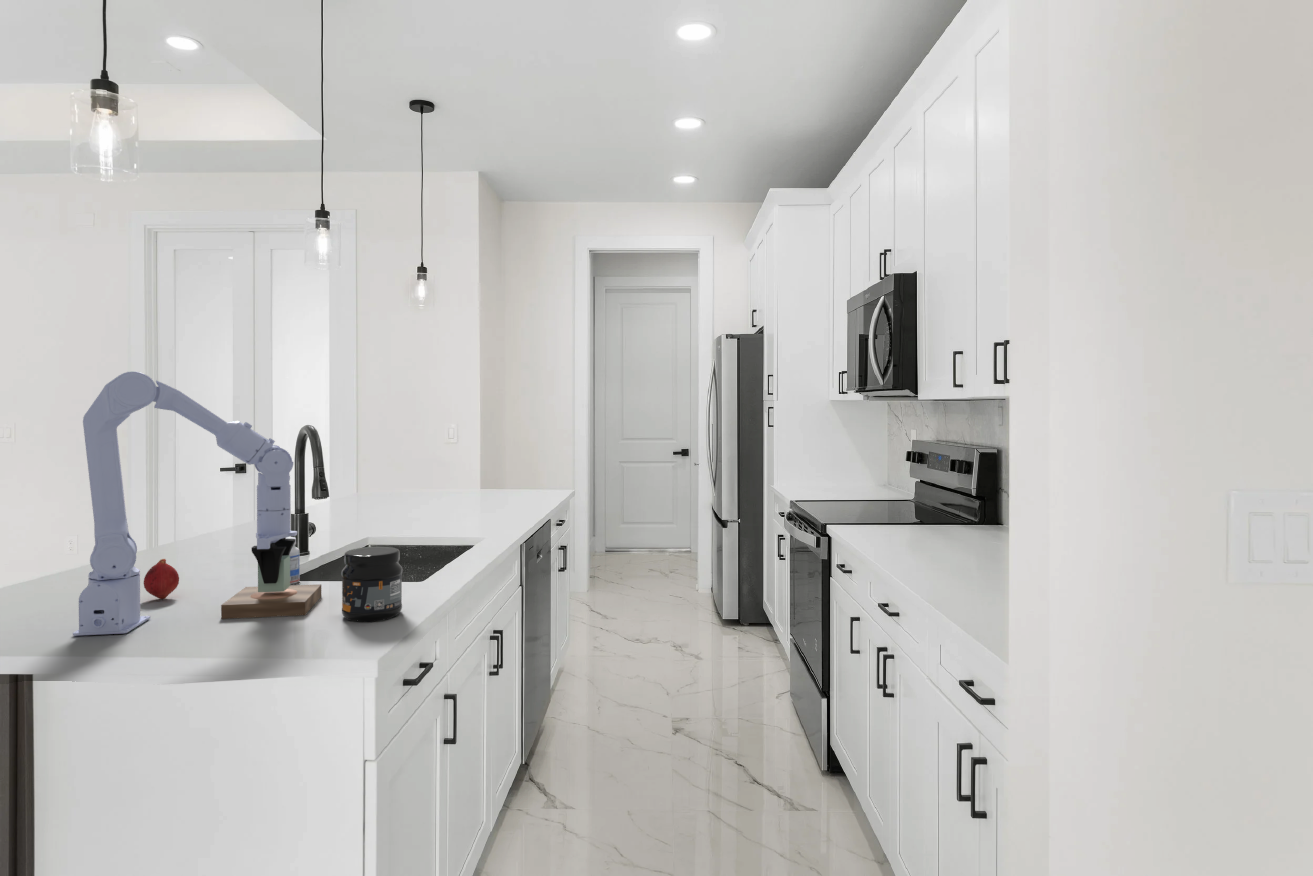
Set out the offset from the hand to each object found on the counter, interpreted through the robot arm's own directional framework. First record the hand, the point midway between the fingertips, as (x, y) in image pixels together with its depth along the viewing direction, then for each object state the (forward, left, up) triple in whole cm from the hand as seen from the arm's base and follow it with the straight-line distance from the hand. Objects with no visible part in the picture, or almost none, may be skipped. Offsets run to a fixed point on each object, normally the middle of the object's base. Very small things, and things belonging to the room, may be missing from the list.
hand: (274, 580), depth 143 cm
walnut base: (0, 0, -5) cm, 5 cm away
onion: (+10, +23, -5) cm, 26 cm away
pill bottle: (+21, +3, -5) cm, 22 cm away
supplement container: (-9, -19, -6) cm, 22 cm away
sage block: (0, 0, -2) cm, 2 cm away
